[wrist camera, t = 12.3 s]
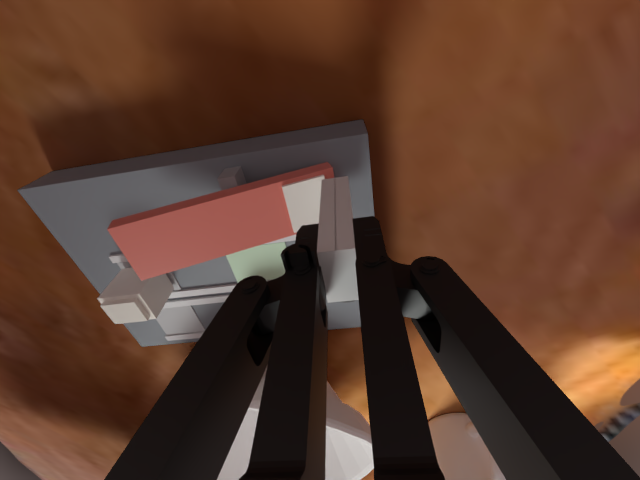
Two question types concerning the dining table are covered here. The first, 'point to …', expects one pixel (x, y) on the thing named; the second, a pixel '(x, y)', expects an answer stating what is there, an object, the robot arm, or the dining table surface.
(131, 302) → the slider
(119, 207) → the panel
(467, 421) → the mug
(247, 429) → the bowl
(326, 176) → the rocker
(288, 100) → the dining table surface
